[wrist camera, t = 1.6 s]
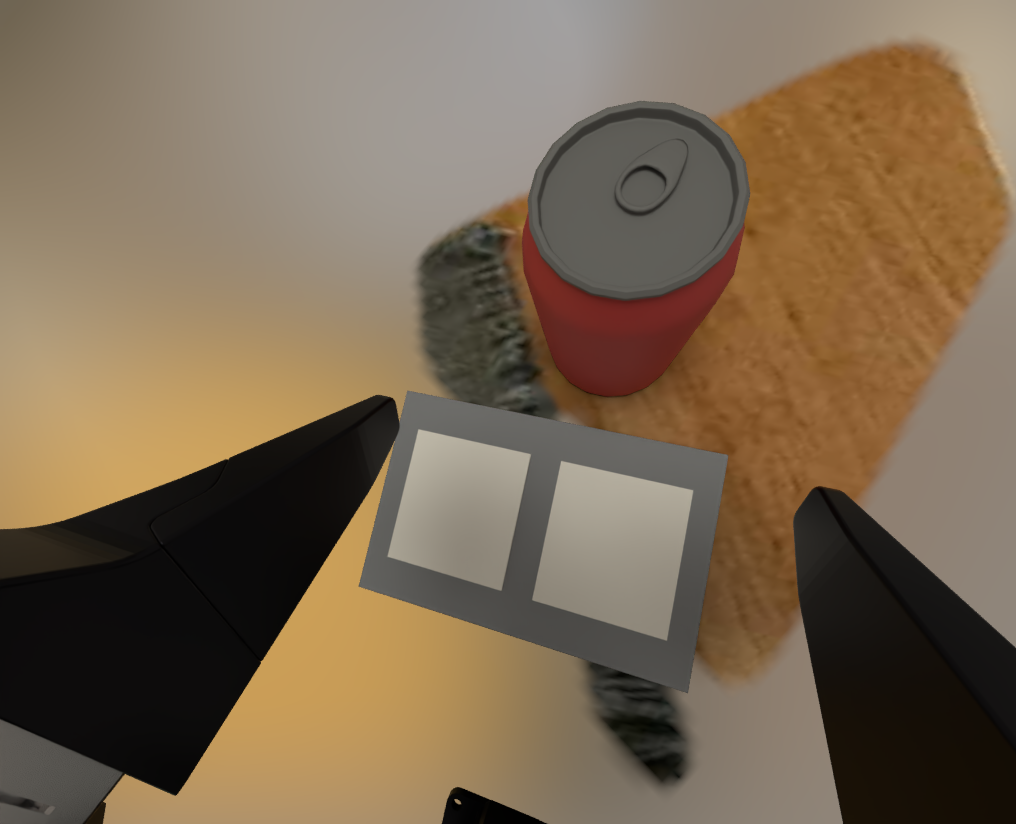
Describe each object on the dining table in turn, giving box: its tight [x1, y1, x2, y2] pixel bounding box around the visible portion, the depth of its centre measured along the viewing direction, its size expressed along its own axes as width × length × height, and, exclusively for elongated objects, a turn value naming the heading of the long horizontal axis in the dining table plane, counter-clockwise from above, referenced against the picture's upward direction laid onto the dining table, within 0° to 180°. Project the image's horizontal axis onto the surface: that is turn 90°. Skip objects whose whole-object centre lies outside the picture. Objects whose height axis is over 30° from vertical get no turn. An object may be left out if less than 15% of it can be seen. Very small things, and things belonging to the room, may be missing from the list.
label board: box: [359, 391, 728, 693], centre depth 21 cm, size 11×17×1 cm, turn 77°
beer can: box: [522, 101, 750, 397], centre depth 17 cm, size 7×7×12 cm
